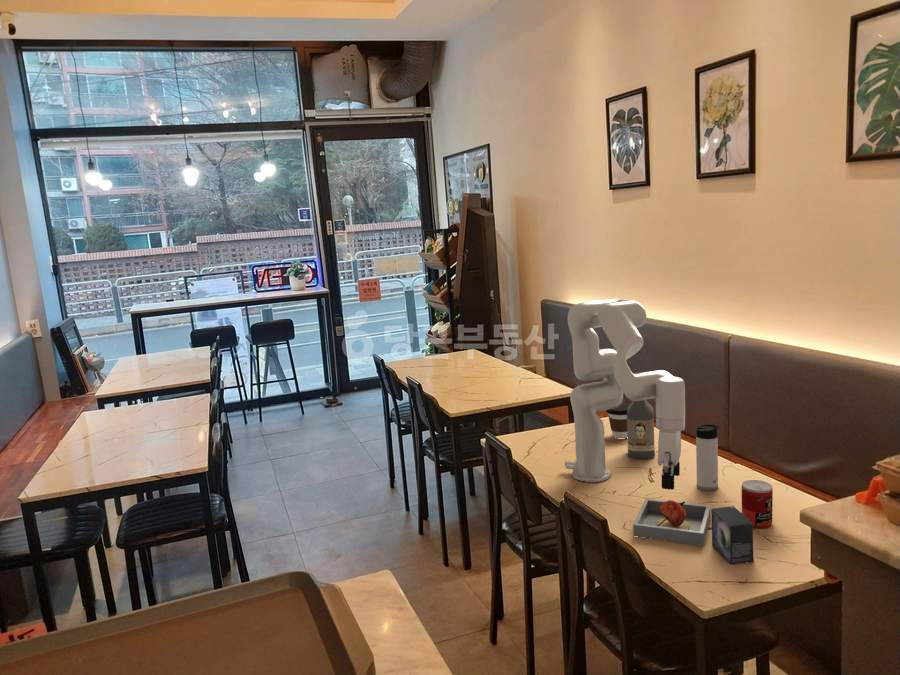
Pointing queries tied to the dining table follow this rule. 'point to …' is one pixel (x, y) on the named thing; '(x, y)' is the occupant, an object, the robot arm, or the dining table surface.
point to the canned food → (757, 502)
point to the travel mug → (707, 457)
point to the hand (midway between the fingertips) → (670, 481)
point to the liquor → (640, 430)
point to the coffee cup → (618, 420)
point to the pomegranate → (673, 512)
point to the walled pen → (687, 532)
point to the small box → (732, 535)
